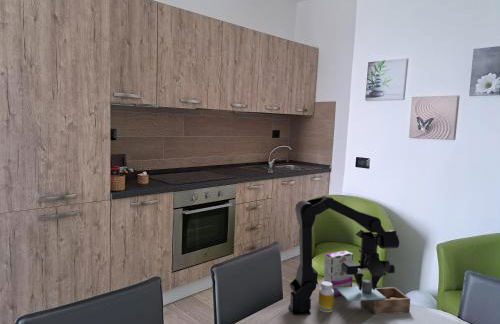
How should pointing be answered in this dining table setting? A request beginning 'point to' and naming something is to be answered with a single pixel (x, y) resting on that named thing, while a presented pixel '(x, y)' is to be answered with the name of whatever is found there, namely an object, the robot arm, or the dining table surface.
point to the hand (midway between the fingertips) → (366, 289)
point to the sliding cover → (361, 292)
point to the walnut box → (389, 302)
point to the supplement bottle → (326, 297)
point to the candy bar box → (337, 270)
